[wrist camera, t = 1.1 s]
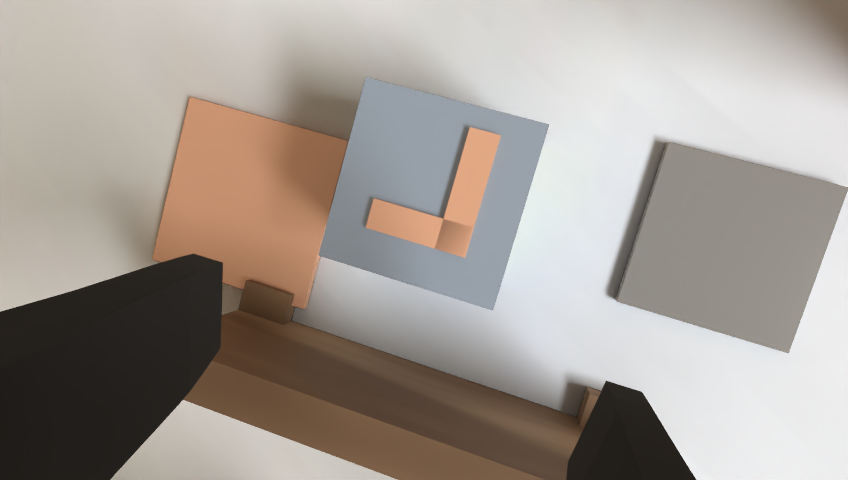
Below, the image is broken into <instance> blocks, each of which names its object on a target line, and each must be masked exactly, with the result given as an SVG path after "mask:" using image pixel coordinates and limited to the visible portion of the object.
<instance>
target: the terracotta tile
mask: <svg viewBox="0 0 848 480" xmlns="http://www.w3.org/2000/svg"><path fill="white" fill-rule="evenodd" d="M348 142H349V141H347V140H343V139H340V138H336V137H332V136H329V135H325V134H322V133H318V132H314V131H311V130H307V129H304V128H300V127H296V126H293V125H289V124H286V123H282V122H279V121H275V120H271V119H268V118H264V117H261V116H257V115H253V114H250V113H246V112H243V111H239V110H235V109H232V108H228V107H225V106H221V105H217V104H214V103H210V102H207V101H203V100H200V99H196V98H192V97H190V99H189V103H188V107H187V112H186V116H185V120H184V125H183V129H182V133H181V137H180V142H179V146H178V150H177V155H176V159H175V163H174V167H173V172H172V176H171V180H170V185H169V189H168V193H167V197H166V202H165V206H164V210H163V215H162V219H161V223H160V227H159V232H158V236H157V240H156V245H155V249H154V253H153V257H152V259H153V260H156V261H159V262H164V261H168V260H171V259H174V258H178V257H181V256H185V255H190V254H197V255H200V256H203V257H207V258H210V259H213V260H216V261H220V262H223V281H222V283H225V284H228V285H231V286H234V287H237V288H240V289H244V285H245V281H246V280H250V279H251V280H254V281H257V282H260V283H263V284H266V285H269V286H272V287H275V288H278V289H281V290H284V291H287V292H291V293H294V294H295V295H294V299H293V303H292V306H295V307H298V308H301V309H305V308H307V305H308V301H309V297H310V294H311V290H312V286H313V282H314V279H315V275H316V271H317V267H318V263H319V260H320V256H319V251H320V248H321V244H322V240H323V236H324V233H325V229H326V225H327V221H328V218H329V214H330V210H331V206H332V202H333V199H334V195H335V191H336V187H337V184H338V180H339V176H340V172H341V169H342V165H343V161H344V157H345V153H346V150H347V146H348Z"/></svg>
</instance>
